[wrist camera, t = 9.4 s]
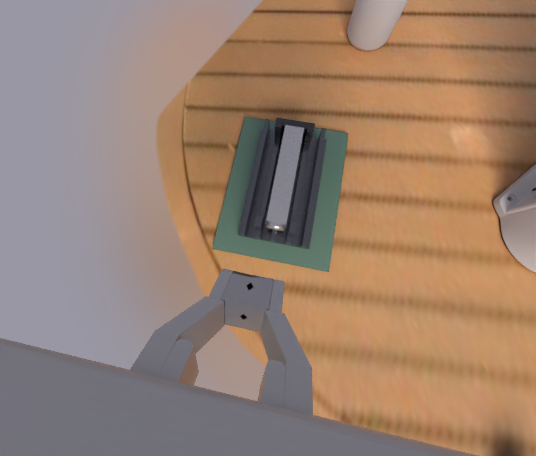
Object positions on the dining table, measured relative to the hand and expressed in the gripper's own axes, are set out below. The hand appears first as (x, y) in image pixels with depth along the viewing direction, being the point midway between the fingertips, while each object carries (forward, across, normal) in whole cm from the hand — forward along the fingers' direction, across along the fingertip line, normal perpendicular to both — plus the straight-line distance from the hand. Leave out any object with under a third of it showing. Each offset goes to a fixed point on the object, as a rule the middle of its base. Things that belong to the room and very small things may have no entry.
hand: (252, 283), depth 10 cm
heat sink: (+28, 0, +7) cm, 29 cm away
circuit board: (+28, 0, +7) cm, 29 cm away
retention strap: (+24, 0, +3) cm, 24 cm away
